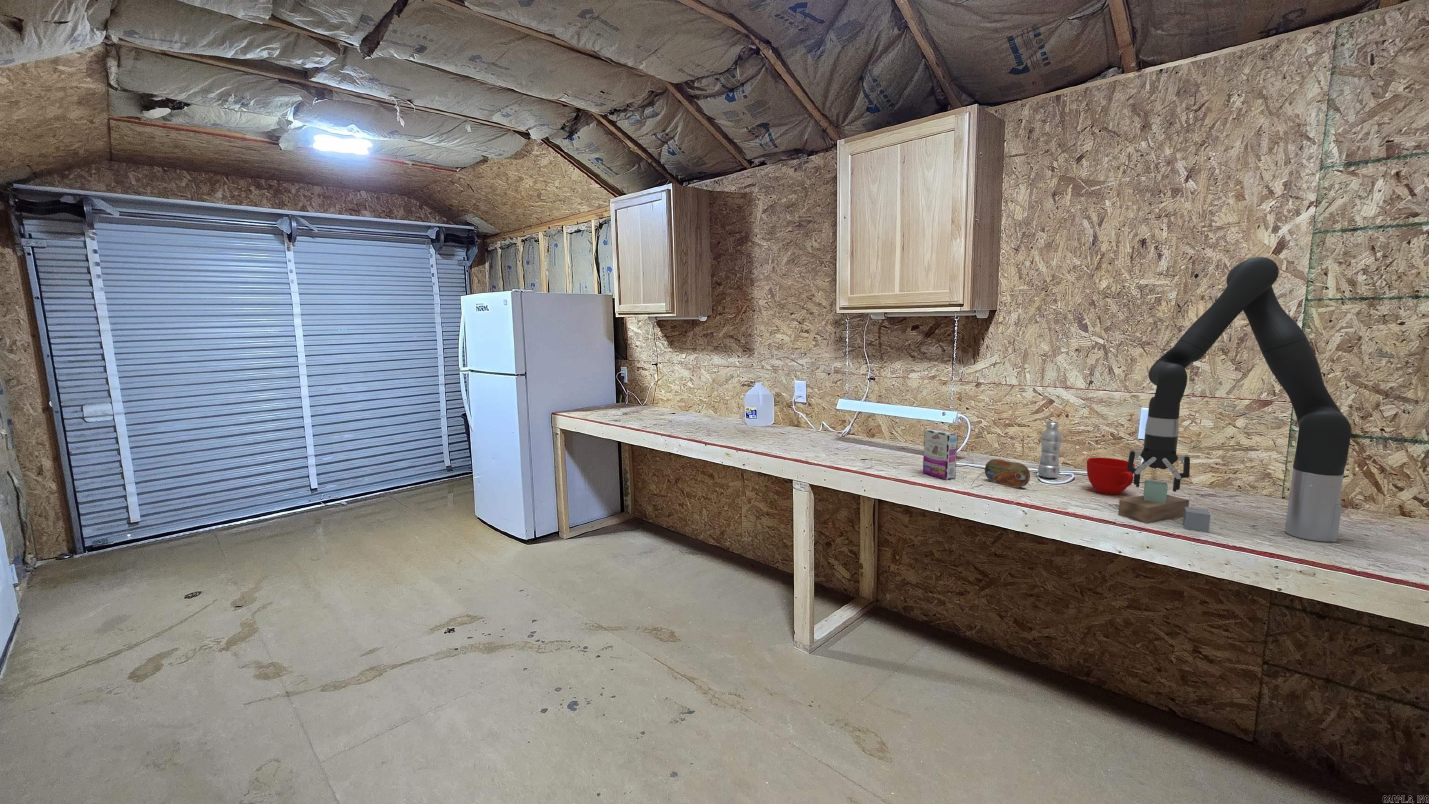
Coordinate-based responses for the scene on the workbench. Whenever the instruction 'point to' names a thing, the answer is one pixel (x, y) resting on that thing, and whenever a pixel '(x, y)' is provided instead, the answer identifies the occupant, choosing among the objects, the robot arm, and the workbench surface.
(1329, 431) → the robot arm
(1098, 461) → the ceramic cup
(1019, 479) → the tin
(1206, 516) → the slate cube
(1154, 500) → the green cube
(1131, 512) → the walnut block
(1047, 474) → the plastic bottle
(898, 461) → the workbench surface
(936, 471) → the candy bar box
